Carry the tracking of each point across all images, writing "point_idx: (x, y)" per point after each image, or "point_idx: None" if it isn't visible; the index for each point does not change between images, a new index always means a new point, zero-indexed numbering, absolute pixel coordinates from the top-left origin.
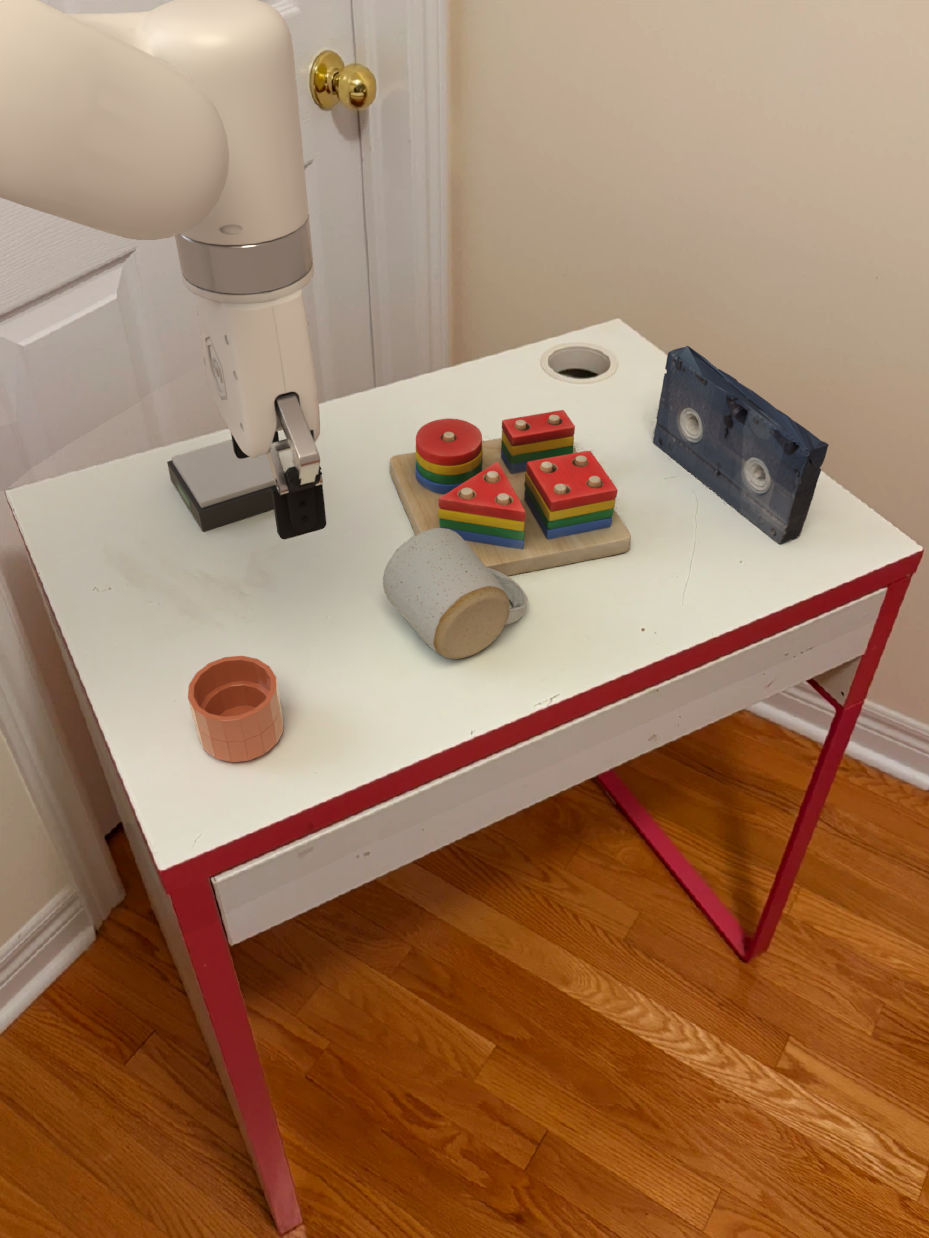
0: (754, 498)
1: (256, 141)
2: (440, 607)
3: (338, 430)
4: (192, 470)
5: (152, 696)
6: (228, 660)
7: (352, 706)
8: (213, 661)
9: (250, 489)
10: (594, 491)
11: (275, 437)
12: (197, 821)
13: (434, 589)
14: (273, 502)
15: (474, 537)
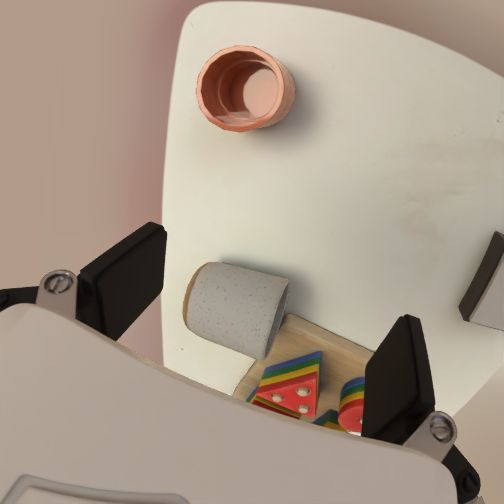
0: None
1: None
2: (196, 292)
3: (473, 373)
4: None
5: (352, 55)
6: (275, 103)
7: (228, 180)
8: (284, 90)
9: (485, 292)
10: None
11: (366, 383)
12: (204, 29)
13: (209, 303)
14: (111, 256)
15: (294, 361)
